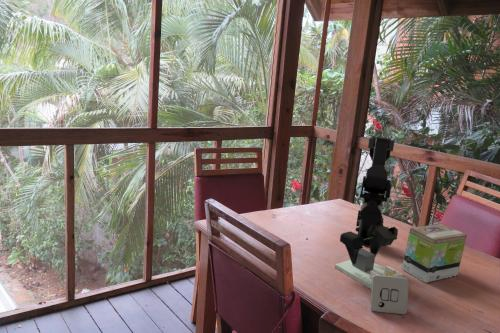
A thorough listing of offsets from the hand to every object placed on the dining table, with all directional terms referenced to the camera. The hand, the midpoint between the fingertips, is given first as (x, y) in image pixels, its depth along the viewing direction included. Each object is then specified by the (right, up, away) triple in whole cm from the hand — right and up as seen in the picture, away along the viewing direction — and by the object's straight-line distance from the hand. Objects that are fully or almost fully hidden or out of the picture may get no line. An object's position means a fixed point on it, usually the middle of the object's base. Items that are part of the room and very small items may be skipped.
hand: (363, 261), depth 126 cm
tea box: (+22, -5, +4) cm, 23 cm away
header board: (+1, -4, -2) cm, 5 cm away
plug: (0, -2, 0) cm, 2 cm away
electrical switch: (0, -8, -19) cm, 21 cm away
